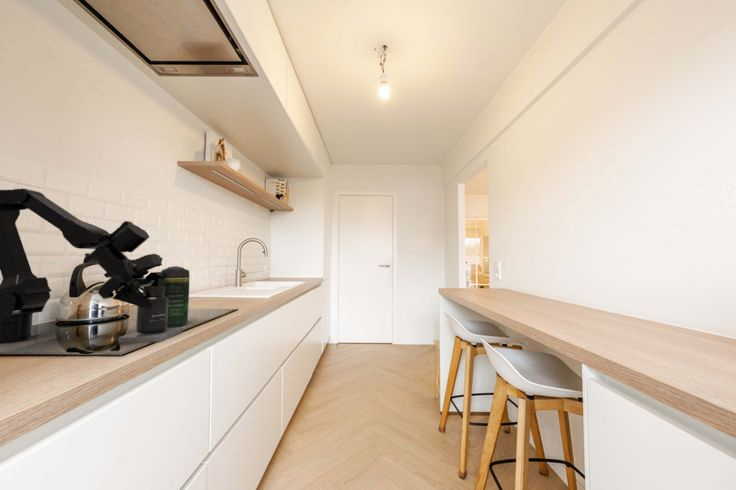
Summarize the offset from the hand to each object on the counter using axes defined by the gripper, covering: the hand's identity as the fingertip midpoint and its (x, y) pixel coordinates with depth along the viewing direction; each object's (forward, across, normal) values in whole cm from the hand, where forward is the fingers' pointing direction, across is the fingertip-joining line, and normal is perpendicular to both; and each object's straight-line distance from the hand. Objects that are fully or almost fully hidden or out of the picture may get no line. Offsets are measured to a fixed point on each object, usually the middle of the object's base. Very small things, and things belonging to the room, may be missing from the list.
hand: (158, 305), depth 79 cm
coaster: (+5, 0, +7) cm, 8 cm away
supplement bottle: (+4, 0, +6) cm, 7 cm away
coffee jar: (+4, +14, +8) cm, 17 cm away
